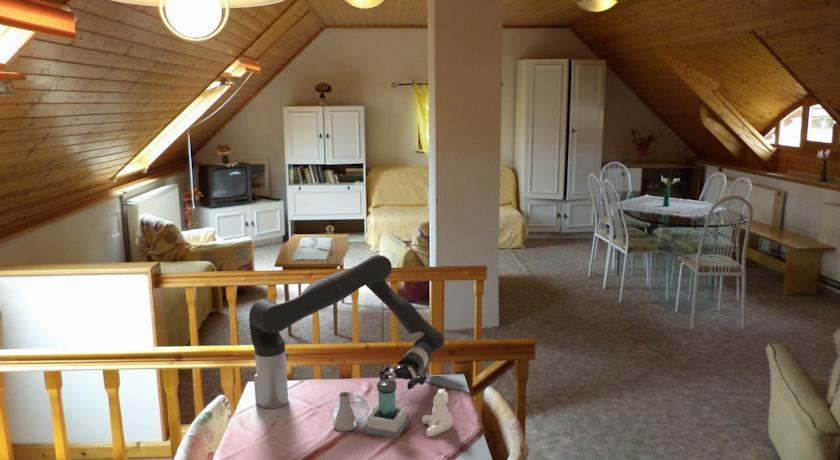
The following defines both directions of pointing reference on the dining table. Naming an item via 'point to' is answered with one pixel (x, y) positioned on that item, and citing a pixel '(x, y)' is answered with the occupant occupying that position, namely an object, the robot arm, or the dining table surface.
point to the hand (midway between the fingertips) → (395, 384)
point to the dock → (387, 423)
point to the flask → (344, 414)
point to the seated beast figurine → (438, 415)
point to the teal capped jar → (386, 398)
